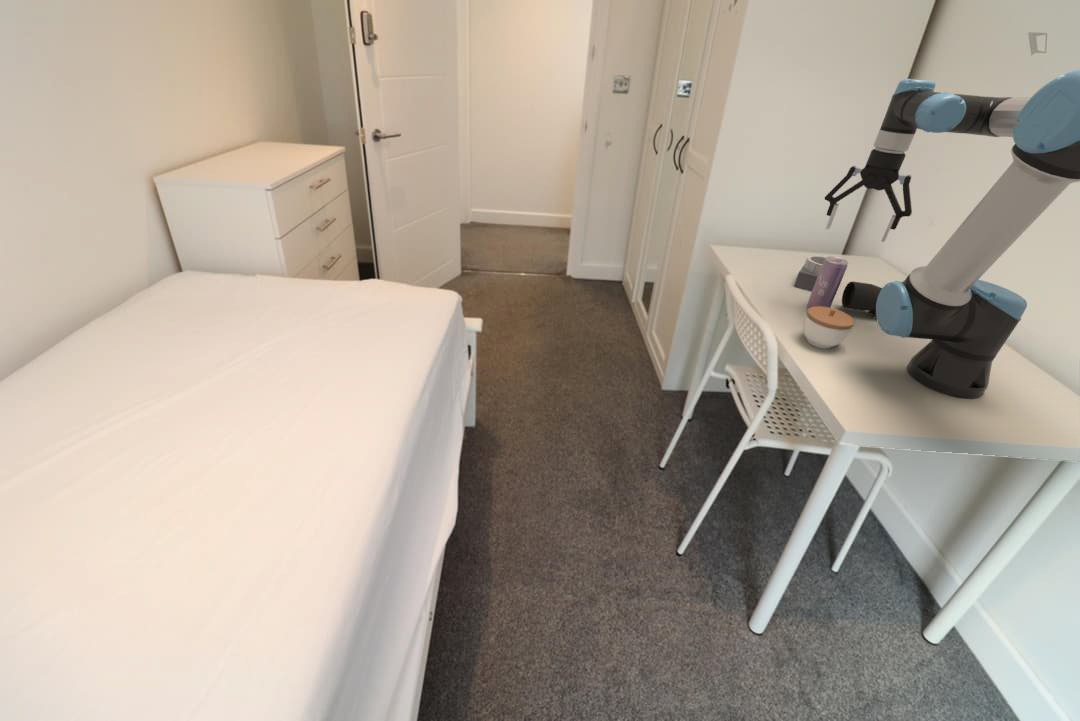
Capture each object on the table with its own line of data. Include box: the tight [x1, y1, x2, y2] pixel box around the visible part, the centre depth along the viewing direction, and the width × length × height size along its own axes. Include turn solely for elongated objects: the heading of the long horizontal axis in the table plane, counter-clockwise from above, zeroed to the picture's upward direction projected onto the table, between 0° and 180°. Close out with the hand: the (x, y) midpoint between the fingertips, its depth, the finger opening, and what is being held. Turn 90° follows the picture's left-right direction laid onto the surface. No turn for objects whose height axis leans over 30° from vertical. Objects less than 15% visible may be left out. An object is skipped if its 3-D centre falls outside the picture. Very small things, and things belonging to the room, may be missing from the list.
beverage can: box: [806, 256, 849, 309], centre depth 143 cm, size 6×6×15 cm
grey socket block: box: [793, 254, 827, 292], centre depth 161 cm, size 14×10×8 cm
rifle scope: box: [841, 281, 883, 319], centre depth 143 cm, size 10×26×10 cm, turn 78°
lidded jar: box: [802, 306, 855, 349], centre depth 127 cm, size 11×11×9 cm
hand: (854, 234), depth 137 cm, fingers open, 13 cm apart
